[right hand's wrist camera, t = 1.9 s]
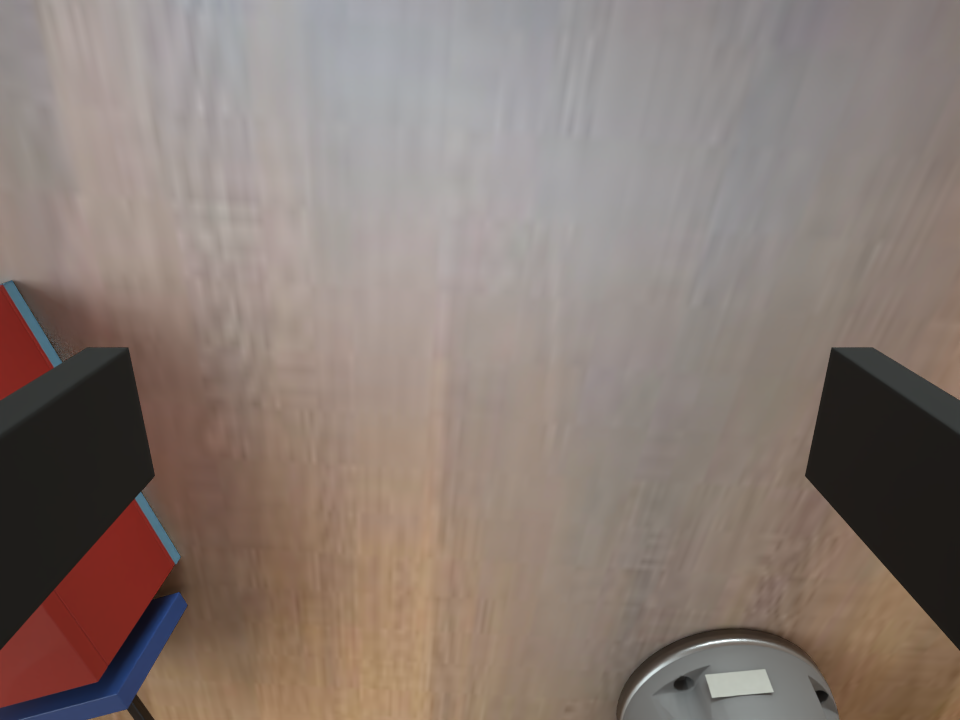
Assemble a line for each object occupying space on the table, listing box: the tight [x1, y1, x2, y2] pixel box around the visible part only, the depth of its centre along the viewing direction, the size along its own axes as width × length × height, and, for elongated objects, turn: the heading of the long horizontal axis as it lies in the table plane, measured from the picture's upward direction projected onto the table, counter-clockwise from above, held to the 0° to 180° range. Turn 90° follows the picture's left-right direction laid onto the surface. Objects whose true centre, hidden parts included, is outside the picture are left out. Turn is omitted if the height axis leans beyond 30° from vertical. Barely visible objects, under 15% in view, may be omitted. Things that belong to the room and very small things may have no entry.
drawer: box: [0, 592, 187, 720], centre depth 38 cm, size 24×10×8 cm, turn 18°
